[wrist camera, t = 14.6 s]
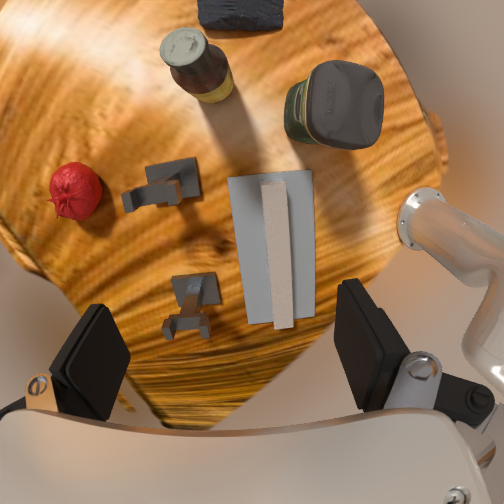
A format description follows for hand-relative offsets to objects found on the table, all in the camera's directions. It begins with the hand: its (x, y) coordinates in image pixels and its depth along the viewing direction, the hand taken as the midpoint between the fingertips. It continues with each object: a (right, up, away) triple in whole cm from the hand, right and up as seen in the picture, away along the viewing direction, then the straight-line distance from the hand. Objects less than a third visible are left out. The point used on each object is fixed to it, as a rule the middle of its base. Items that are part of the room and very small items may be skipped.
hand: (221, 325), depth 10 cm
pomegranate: (-28, +14, +31) cm, 44 cm away
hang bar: (+5, +2, +36) cm, 37 cm away
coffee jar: (+10, +24, +27) cm, 38 cm away
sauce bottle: (-5, +28, +25) cm, 38 cm away
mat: (+5, +2, +37) cm, 37 cm away
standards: (-10, +5, +35) cm, 37 cm away
